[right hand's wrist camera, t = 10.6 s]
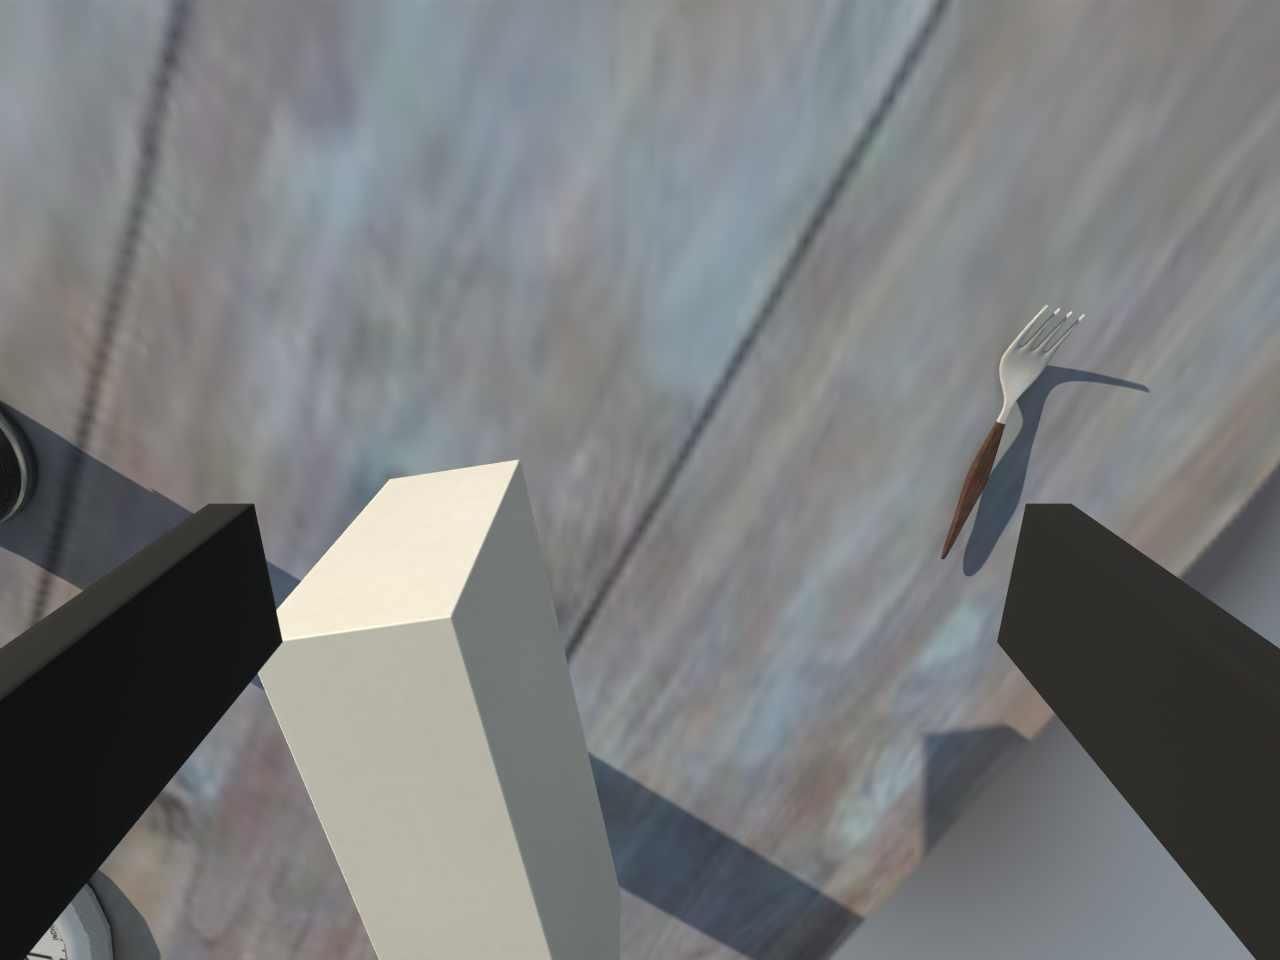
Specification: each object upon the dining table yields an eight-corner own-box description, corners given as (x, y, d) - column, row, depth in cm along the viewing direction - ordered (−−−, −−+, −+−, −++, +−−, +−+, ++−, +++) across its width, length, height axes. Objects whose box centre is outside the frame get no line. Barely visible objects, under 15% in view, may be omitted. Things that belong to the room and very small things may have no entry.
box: (389, 479, 32) (244, 645, 20) (520, 459, 31) (452, 615, 20) (519, 904, 41) (474, 1186, 30) (620, 892, 41) (615, 1172, 29)
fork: (919, 550, 45) (931, 565, 44) (1024, 299, 40) (1043, 304, 38) (958, 559, 46) (971, 574, 44) (1068, 310, 40) (1089, 315, 38)
